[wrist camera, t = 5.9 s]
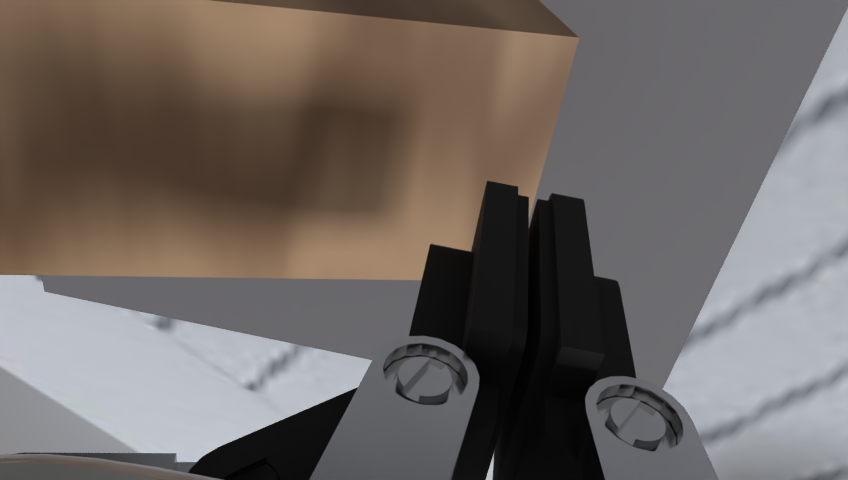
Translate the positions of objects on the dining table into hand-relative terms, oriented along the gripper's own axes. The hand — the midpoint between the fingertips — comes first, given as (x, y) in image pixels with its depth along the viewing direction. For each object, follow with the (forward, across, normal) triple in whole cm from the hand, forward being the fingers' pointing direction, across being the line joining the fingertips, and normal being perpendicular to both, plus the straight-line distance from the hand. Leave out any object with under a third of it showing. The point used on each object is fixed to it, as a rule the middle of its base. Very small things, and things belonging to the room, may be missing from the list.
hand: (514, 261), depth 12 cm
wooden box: (+6, 0, 0) cm, 6 cm away
